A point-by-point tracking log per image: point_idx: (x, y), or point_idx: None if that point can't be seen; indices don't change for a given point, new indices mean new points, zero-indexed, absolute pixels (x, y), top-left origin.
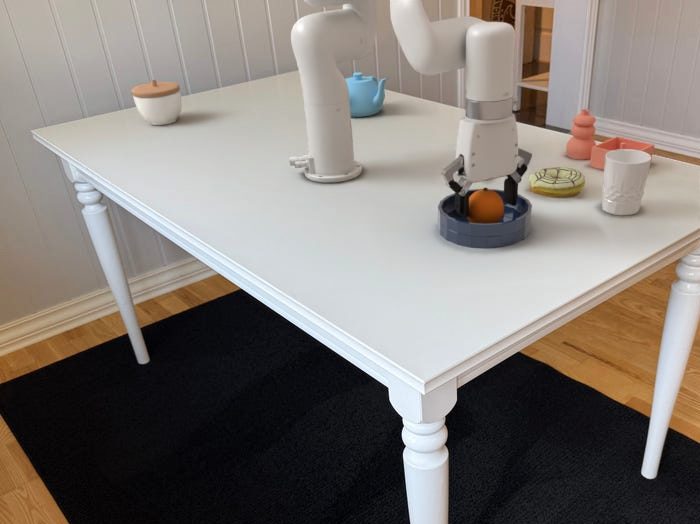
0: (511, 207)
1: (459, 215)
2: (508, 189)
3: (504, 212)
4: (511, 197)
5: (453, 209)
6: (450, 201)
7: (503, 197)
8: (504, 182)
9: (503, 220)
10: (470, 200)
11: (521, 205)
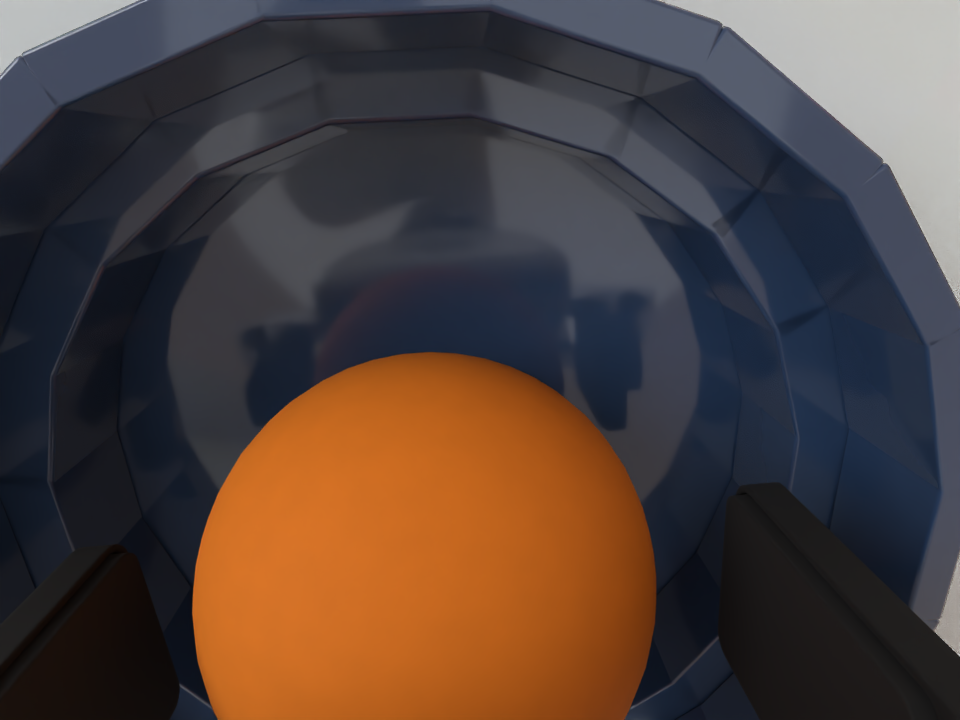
0: (791, 416)
1: (324, 139)
2: (818, 713)
3: (736, 315)
4: (763, 691)
5: (202, 177)
6: (132, 105)
7: (747, 509)
8: (889, 694)
9: (657, 388)
10: (202, 673)
11: (860, 512)
